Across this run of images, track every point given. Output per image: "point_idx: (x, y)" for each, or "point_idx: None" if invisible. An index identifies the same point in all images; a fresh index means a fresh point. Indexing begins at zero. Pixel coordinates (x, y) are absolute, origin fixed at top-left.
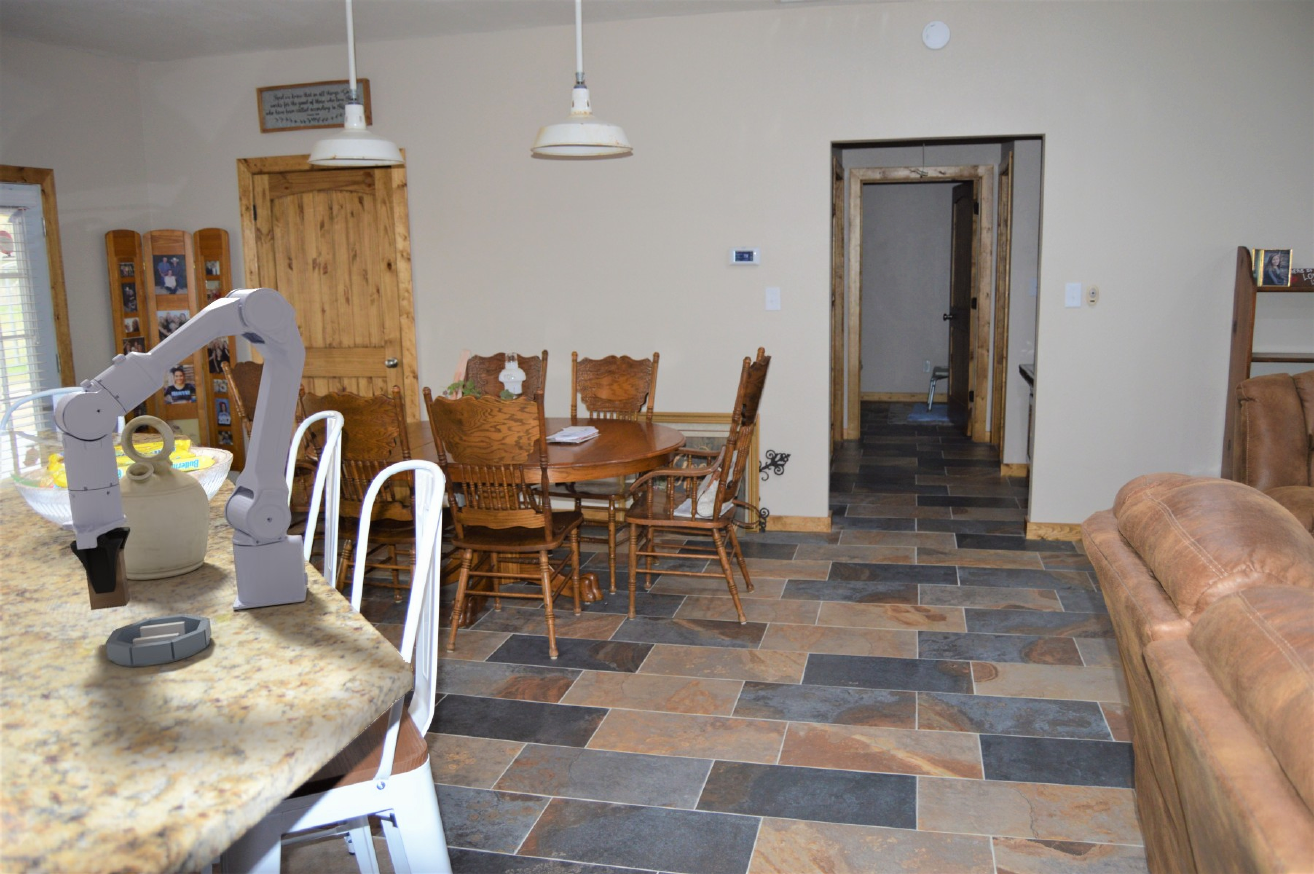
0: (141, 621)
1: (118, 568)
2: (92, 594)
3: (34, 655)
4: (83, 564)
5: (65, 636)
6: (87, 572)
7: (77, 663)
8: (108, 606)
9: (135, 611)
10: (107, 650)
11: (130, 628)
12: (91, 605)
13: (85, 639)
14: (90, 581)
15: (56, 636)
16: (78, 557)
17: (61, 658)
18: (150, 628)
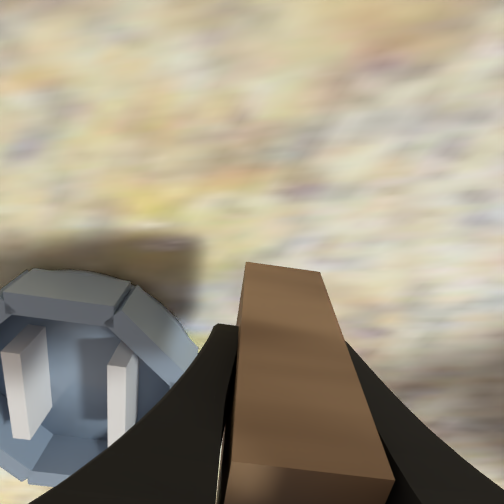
0: (169, 369)
1: (217, 496)
2: (241, 305)
3: (191, 48)
4: (128, 430)
5: (347, 131)
6: (173, 388)
7: (56, 189)
8: (237, 318)
9: (468, 310)
10: (11, 281)
11: (129, 342)
12: (246, 272)
13: (275, 194)
14: (202, 351)
15: (367, 101)
16: (74, 475)
17: (120, 140)
18: (108, 384)
